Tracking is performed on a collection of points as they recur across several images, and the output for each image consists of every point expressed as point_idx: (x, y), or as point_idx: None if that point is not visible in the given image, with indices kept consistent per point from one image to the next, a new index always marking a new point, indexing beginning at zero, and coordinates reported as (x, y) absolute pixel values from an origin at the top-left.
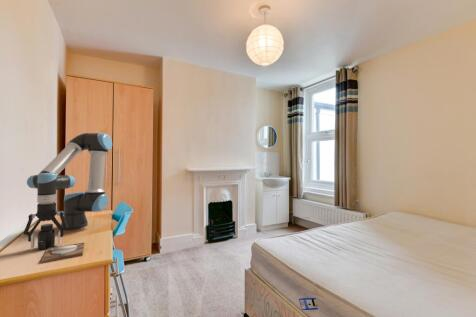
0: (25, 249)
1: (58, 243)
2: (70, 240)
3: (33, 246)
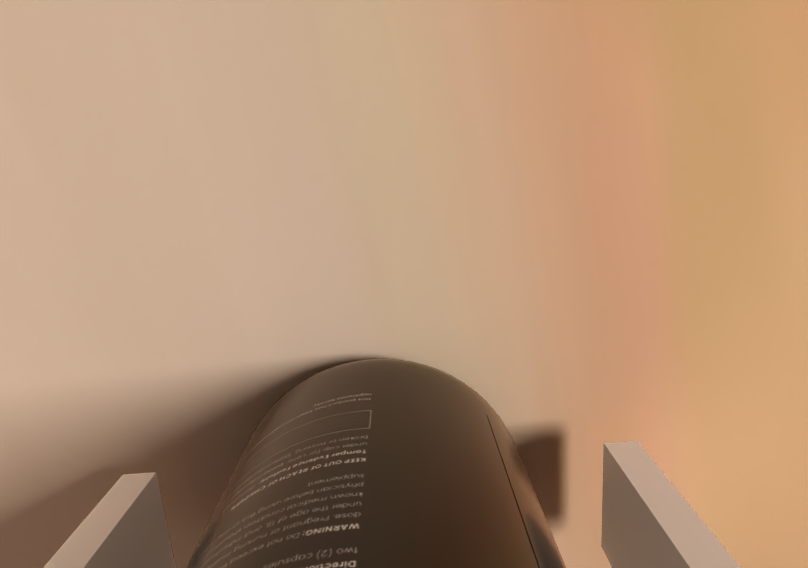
0: (24, 401)
1: (610, 556)
2: (788, 194)
3: (159, 543)
